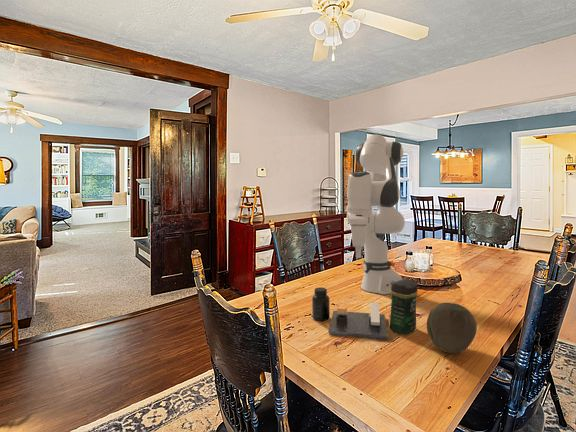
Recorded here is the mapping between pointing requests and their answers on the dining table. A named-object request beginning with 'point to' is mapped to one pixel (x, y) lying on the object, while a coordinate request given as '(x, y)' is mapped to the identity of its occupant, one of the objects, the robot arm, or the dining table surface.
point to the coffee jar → (403, 306)
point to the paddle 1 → (341, 311)
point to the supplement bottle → (320, 305)
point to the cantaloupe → (451, 327)
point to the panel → (357, 326)
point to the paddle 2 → (375, 314)
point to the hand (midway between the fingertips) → (358, 254)
